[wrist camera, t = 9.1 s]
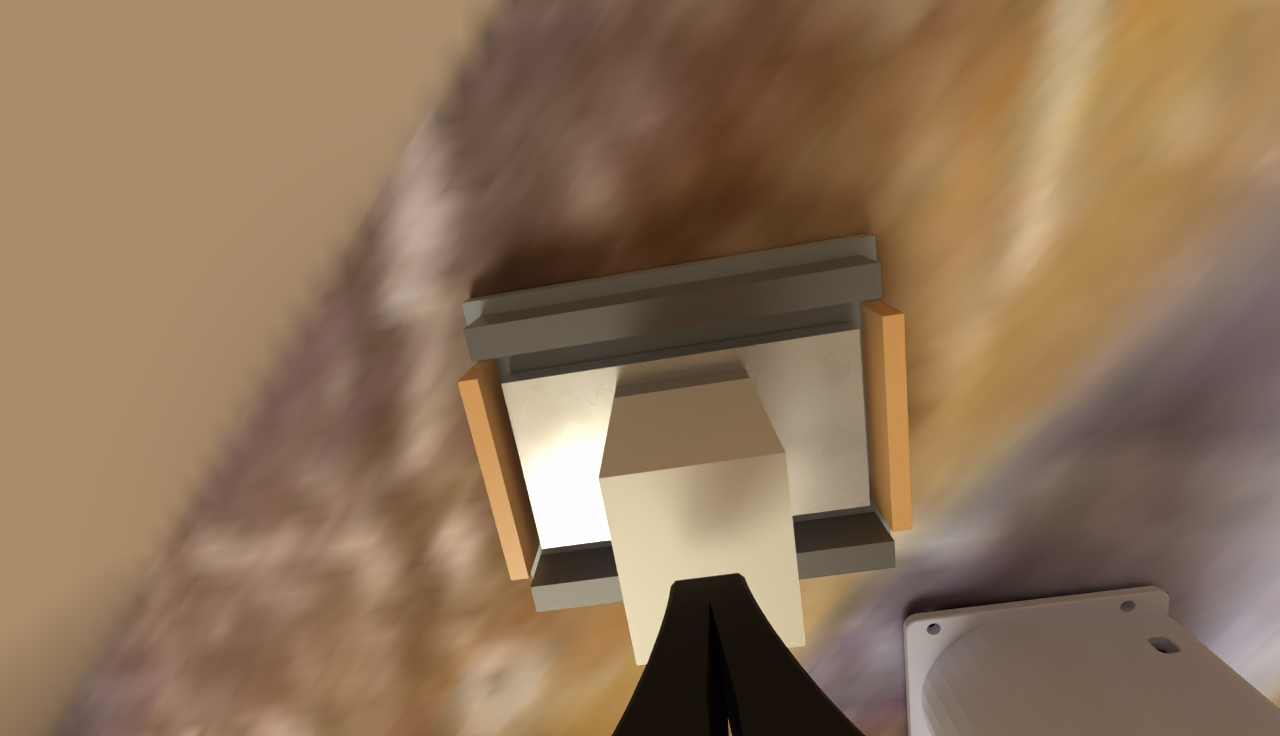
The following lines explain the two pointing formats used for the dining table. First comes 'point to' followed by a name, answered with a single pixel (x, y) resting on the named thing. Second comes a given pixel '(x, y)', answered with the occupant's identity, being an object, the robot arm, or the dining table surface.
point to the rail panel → (679, 317)
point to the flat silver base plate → (776, 364)
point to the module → (698, 499)
